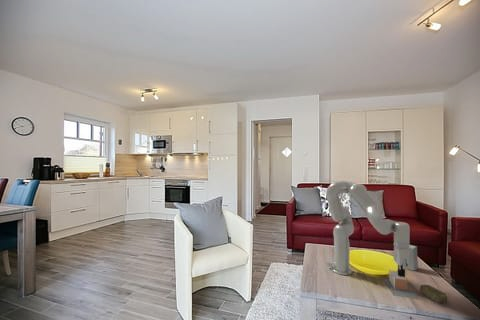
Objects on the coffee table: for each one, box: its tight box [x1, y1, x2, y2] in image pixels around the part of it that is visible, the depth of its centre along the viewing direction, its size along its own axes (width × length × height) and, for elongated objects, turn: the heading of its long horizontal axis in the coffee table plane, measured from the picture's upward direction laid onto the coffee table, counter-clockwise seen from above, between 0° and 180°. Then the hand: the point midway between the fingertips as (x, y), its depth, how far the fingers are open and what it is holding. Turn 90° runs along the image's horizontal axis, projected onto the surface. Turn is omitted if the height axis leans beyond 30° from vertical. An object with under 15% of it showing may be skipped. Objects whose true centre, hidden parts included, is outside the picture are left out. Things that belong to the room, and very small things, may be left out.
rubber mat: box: [382, 278, 419, 300], centre depth 136 cm, size 12×20×1 cm, turn 163°
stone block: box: [419, 284, 448, 304], centre depth 128 cm, size 6×12×5 cm, turn 12°
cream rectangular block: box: [388, 269, 408, 291], centre depth 140 cm, size 6×6×11 cm
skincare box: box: [405, 244, 419, 272], centre depth 164 cm, size 8×7×16 cm
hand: (401, 276), depth 134 cm, fingers closed
